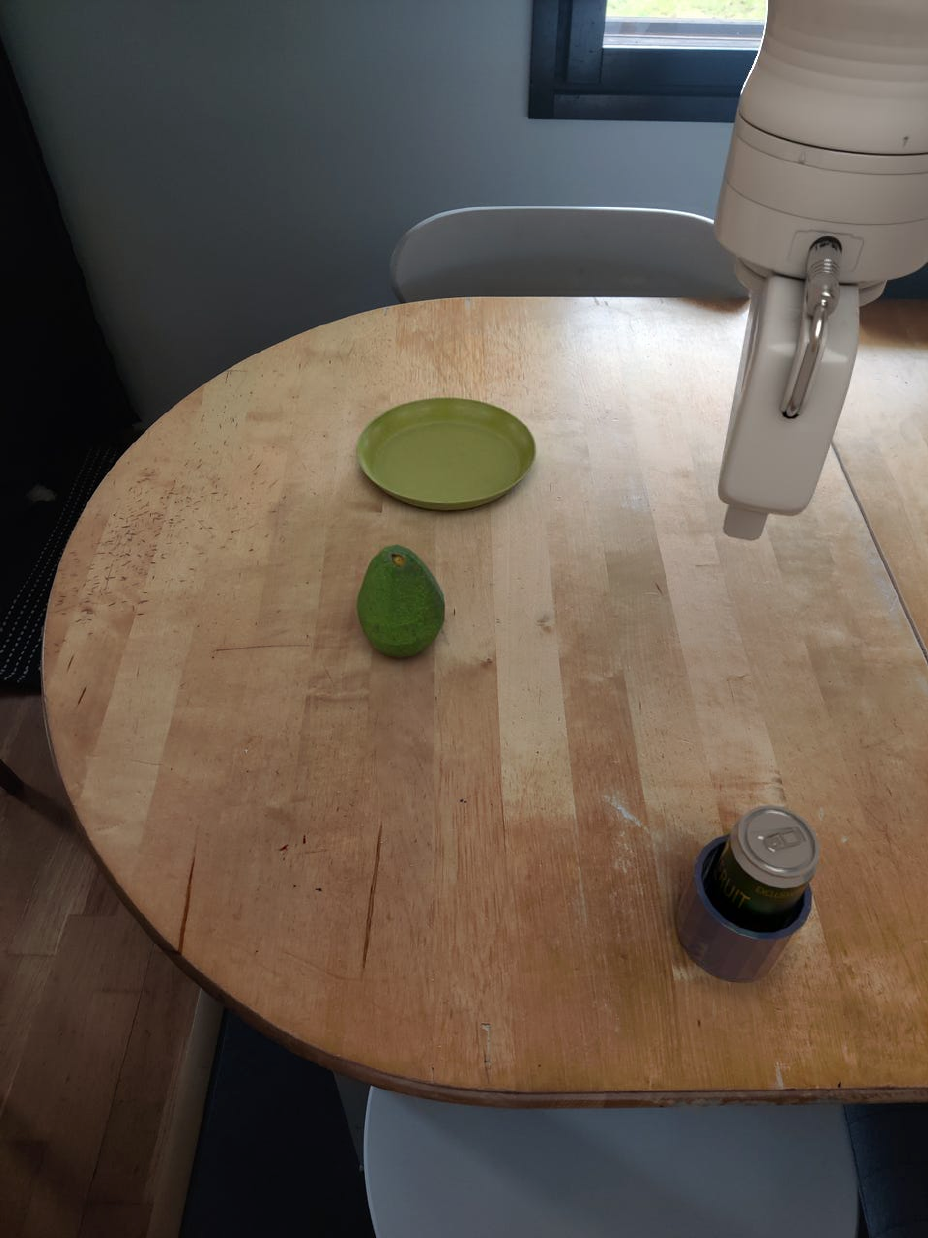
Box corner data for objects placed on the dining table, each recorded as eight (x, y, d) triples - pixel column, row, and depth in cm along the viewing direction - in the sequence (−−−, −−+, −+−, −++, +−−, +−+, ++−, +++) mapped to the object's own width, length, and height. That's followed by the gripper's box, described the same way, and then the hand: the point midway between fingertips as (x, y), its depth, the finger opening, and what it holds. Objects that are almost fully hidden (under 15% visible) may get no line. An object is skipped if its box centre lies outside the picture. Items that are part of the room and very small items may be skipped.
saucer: (330, 504, 96) (327, 480, 94) (395, 408, 110) (393, 385, 107) (508, 539, 92) (510, 516, 89) (552, 435, 105) (554, 412, 103)
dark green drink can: (749, 882, 64) (794, 793, 55) (786, 951, 60) (841, 868, 51) (683, 900, 63) (718, 813, 54) (717, 971, 59) (760, 890, 50)
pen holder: (785, 897, 64) (813, 850, 58) (780, 997, 58) (810, 955, 53) (682, 868, 65) (701, 820, 60) (668, 964, 60) (687, 919, 55)
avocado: (353, 672, 79) (340, 576, 70) (371, 611, 84) (361, 516, 76) (439, 681, 78) (436, 586, 69) (452, 620, 83) (450, 524, 75)
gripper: (928, 324, 27) (803, 624, 37) (903, 129, 41) (816, 387, 51) (727, 296, 29) (658, 593, 39) (767, 116, 42) (709, 370, 52)
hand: (748, 474), depth 45 cm, fingers open, 8 cm apart
